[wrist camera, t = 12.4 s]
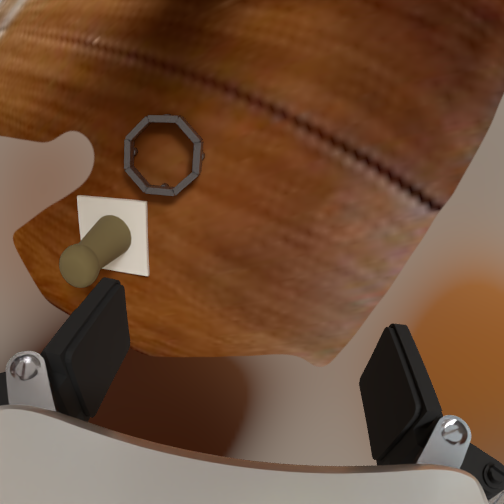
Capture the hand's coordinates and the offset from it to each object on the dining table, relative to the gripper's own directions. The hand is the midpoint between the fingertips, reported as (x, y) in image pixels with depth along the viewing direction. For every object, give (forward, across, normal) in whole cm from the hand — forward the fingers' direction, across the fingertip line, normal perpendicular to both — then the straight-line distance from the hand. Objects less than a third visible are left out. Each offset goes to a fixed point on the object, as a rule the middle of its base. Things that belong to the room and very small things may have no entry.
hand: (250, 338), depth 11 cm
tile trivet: (+30, +21, +12) cm, 38 cm away
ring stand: (+30, +13, 0) cm, 32 cm away
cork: (+29, +20, +12) cm, 37 cm away
